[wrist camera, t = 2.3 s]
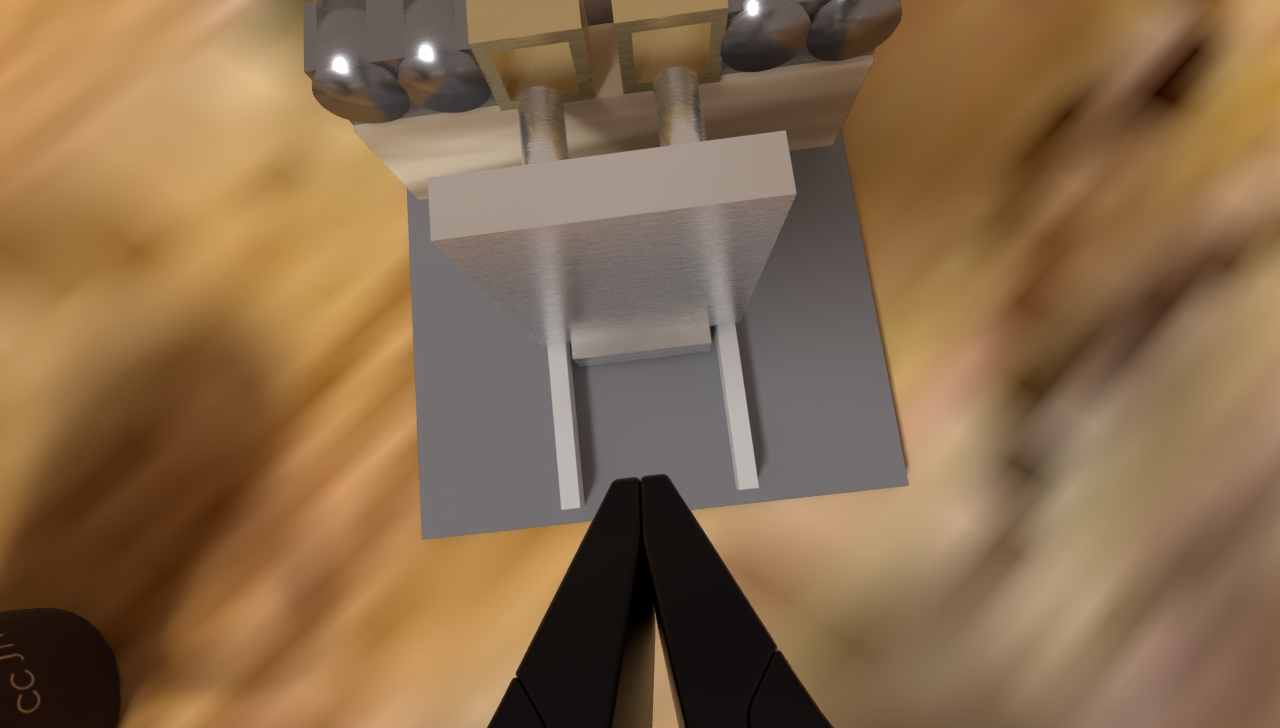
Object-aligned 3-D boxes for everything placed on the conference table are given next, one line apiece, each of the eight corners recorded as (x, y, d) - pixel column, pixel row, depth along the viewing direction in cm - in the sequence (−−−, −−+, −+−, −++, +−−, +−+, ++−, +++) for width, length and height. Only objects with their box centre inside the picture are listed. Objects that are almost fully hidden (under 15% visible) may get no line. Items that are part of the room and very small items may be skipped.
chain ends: (880, 59, 17) (920, -20, 14) (346, 132, 18) (286, 69, 15) (865, -13, 18) (901, -104, 15) (345, 60, 18) (286, -14, 15)
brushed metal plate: (738, 347, 20) (801, 226, 10) (550, 370, 20) (432, 273, 10) (714, 177, 21) (749, -81, 11) (535, 200, 21) (416, -33, 12)
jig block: (832, 145, 22) (873, 60, 17) (418, 199, 22) (353, 131, 18) (821, 85, 22) (858, -13, 18) (415, 140, 22) (351, 59, 18)
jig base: (901, 485, 20) (921, 486, 18) (429, 538, 20) (409, 543, 19) (825, 82, 23) (837, 53, 21) (411, 138, 23) (392, 114, 22)
